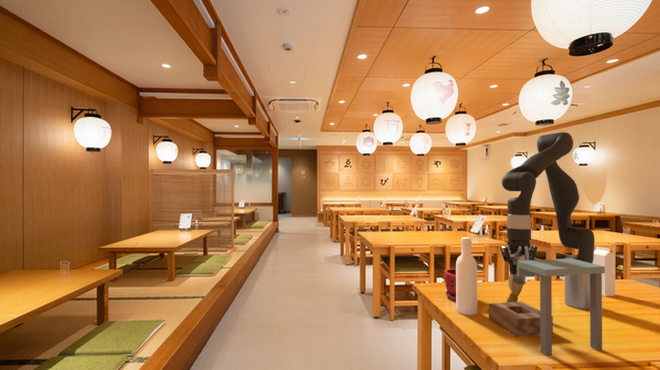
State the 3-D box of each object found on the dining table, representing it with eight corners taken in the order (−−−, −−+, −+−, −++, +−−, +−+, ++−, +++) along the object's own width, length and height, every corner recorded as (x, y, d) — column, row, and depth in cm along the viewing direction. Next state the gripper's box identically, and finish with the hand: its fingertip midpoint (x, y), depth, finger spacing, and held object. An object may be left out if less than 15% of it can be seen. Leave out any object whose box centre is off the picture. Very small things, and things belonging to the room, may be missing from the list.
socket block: (521, 316, 119) (521, 301, 119) (552, 333, 105) (552, 316, 105) (488, 319, 116) (488, 303, 116) (516, 337, 103) (516, 319, 103)
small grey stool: (571, 333, 105) (571, 258, 105) (605, 350, 94) (604, 266, 94) (517, 338, 102) (517, 260, 102) (546, 356, 91) (545, 269, 91)
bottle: (476, 317, 118) (475, 240, 118) (454, 312, 122) (454, 238, 123) (478, 310, 125) (478, 237, 125) (457, 306, 129) (457, 235, 129)
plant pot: (466, 306, 129) (466, 278, 129) (439, 297, 140) (438, 271, 140) (481, 299, 137) (481, 272, 137) (454, 291, 148) (454, 266, 148)
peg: (519, 280, 113) (519, 253, 113) (528, 284, 109) (528, 256, 109) (510, 281, 112) (509, 254, 112) (518, 284, 108) (518, 256, 108)
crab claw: (526, 312, 122) (526, 263, 123) (516, 314, 121) (516, 264, 121) (511, 306, 129) (511, 259, 129) (502, 307, 127) (501, 260, 127)
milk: (601, 291, 147) (601, 245, 148) (615, 295, 141) (615, 248, 142) (591, 292, 146) (591, 246, 146) (605, 296, 140) (605, 248, 140)
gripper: (527, 225, 116) (527, 270, 116) (494, 225, 113) (494, 271, 113) (544, 227, 108) (544, 276, 108) (509, 228, 106) (509, 277, 106)
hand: (518, 273), depth 111 cm, fingers closed on peg, 4 cm apart
